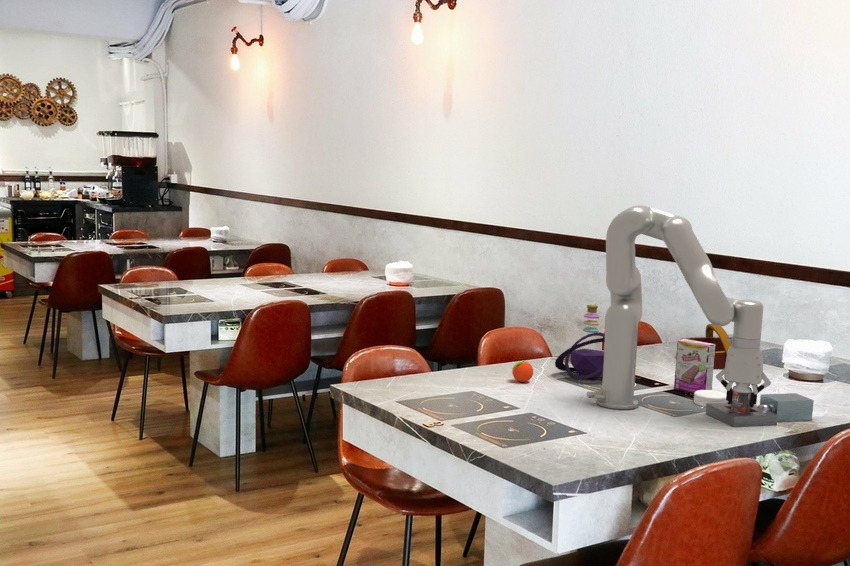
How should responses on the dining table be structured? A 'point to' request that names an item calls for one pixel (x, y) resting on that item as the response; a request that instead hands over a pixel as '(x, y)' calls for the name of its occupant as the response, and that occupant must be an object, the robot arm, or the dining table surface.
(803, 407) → the grey tray with housing
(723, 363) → the decorative basket
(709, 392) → the white round disc
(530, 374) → the clementine
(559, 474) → the dining table surface
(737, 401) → the pill bottle
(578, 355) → the decorative bottle
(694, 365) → the candy bar box
